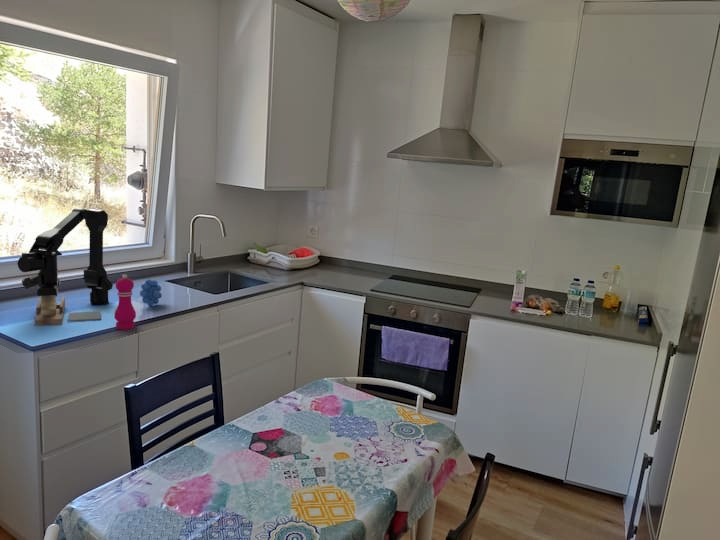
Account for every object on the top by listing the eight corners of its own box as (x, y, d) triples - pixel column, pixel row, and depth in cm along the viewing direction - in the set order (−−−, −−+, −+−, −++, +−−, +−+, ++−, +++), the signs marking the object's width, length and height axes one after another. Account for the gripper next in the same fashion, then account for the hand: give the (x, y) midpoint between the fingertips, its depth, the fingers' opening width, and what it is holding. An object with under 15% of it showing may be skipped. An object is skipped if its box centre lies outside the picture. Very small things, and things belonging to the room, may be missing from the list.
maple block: (56, 306, 196) (55, 294, 192) (56, 314, 192) (54, 302, 189) (42, 307, 194) (41, 295, 190) (41, 315, 190) (40, 303, 187)
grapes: (148, 310, 213) (148, 282, 211) (136, 308, 216) (135, 280, 214) (168, 305, 224) (168, 278, 222) (156, 302, 226) (156, 275, 224)
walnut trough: (65, 307, 209) (64, 296, 209) (61, 324, 188) (61, 312, 188) (40, 308, 205) (40, 297, 205) (34, 325, 185) (34, 313, 184)
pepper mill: (118, 323, 193) (118, 271, 190) (138, 324, 194) (138, 272, 190) (111, 329, 186) (110, 275, 183) (132, 330, 187) (131, 276, 183)
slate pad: (100, 312, 206) (100, 311, 206) (100, 319, 196) (100, 318, 196) (68, 314, 201) (68, 312, 201) (67, 321, 191) (67, 320, 191)
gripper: (26, 264, 197) (27, 303, 200) (19, 273, 181) (21, 316, 184) (59, 263, 202) (60, 302, 205) (56, 273, 186) (57, 314, 189)
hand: (49, 308), depth 195 cm, fingers closed
